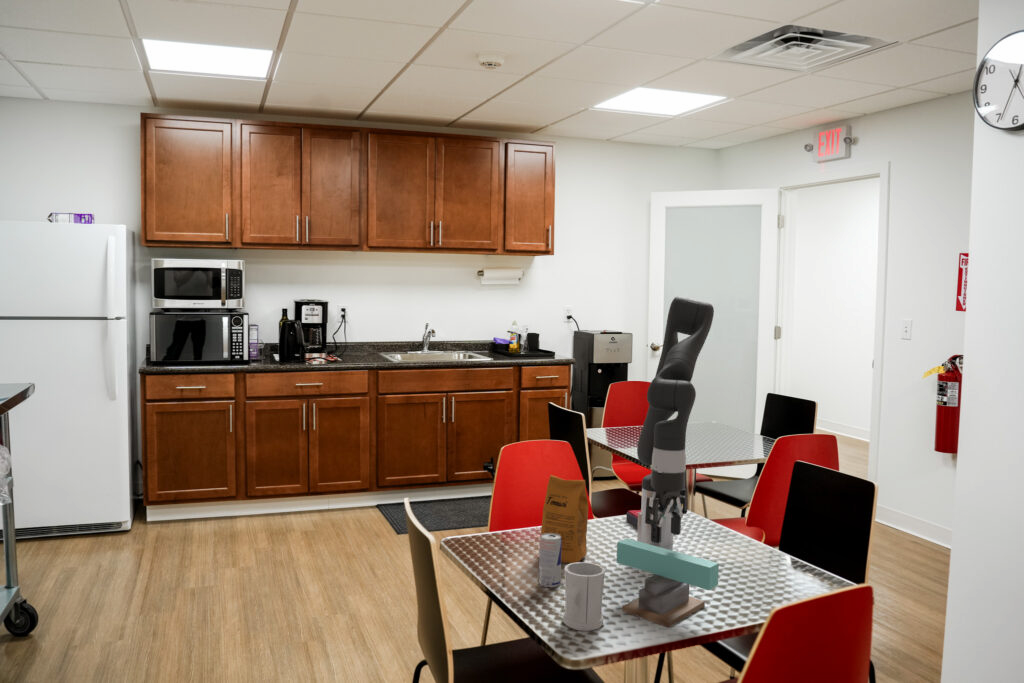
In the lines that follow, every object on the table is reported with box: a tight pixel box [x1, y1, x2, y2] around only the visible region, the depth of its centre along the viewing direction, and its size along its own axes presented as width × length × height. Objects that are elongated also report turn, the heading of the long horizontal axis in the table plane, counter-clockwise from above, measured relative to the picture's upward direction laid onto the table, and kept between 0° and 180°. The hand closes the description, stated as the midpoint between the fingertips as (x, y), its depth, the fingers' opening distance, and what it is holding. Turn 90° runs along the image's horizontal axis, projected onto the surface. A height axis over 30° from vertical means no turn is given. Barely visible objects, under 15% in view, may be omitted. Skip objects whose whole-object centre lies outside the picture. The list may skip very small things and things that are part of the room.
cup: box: [562, 561, 606, 632], centre depth 166 cm, size 10×9×12 cm
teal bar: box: [616, 538, 720, 591], centre depth 175 cm, size 24×4×5 cm, turn 48°
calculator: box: [625, 509, 641, 529], centre depth 240 cm, size 11×4×15 cm
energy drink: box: [538, 533, 562, 589], centre depth 189 cm, size 5×5×12 cm
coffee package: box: [540, 474, 589, 564], centre depth 209 cm, size 10×12×22 cm
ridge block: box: [621, 574, 706, 628], centre depth 176 cm, size 12×16×8 cm
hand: (665, 537), depth 175 cm, fingers open, 8 cm apart
